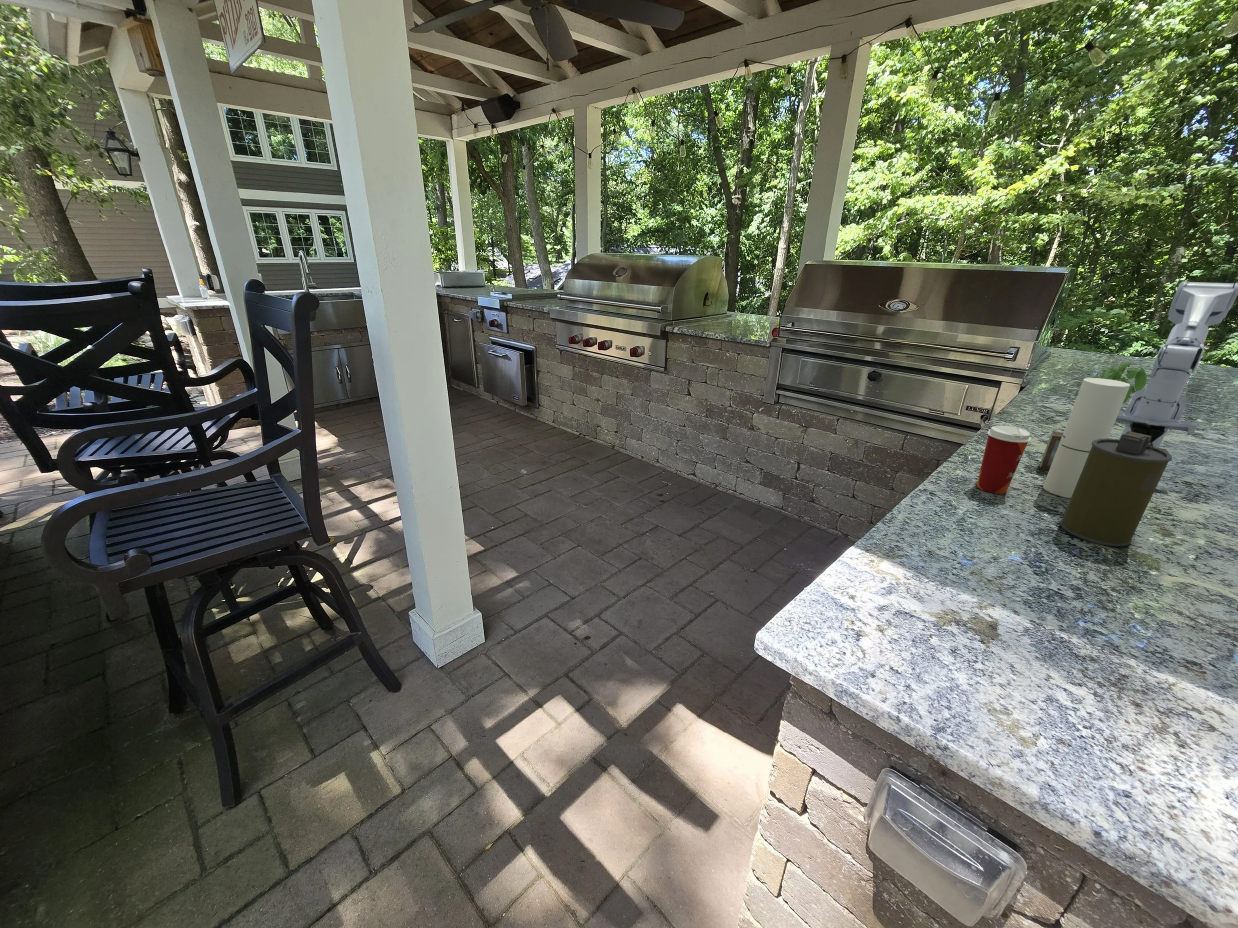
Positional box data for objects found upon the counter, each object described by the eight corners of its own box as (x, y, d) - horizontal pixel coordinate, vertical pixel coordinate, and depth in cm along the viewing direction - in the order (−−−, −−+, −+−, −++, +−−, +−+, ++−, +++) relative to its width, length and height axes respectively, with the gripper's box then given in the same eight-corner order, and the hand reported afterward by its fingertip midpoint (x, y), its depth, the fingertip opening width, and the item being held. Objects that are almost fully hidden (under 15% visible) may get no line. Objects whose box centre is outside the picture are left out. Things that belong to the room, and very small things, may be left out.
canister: (1115, 552, 89) (1164, 449, 82) (1048, 526, 98) (1086, 430, 90) (1142, 537, 94) (1191, 438, 86) (1076, 513, 103) (1114, 421, 95)
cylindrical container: (1077, 487, 114) (1121, 380, 104) (1089, 500, 108) (1136, 388, 98) (1039, 482, 116) (1078, 376, 107) (1048, 494, 111) (1090, 384, 101)
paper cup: (1019, 497, 109) (1040, 437, 104) (980, 494, 111) (999, 435, 105) (1001, 482, 116) (1020, 425, 111) (965, 479, 118) (982, 423, 112)
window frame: (1039, 464, 126) (1052, 430, 122) (1149, 485, 115) (1166, 449, 111) (1039, 469, 123) (1052, 435, 120) (1152, 491, 112) (1170, 454, 108)
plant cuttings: (1129, 436, 164) (1075, 386, 172) (1193, 404, 151) (1132, 350, 159) (1103, 462, 144) (1043, 403, 152) (1174, 427, 132) (1105, 365, 139)
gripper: (1118, 397, 113) (1095, 452, 119) (1211, 409, 105) (1182, 467, 111) (1114, 391, 119) (1092, 444, 124) (1202, 401, 111) (1175, 458, 116)
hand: (1134, 454), depth 118 cm, fingers closed
